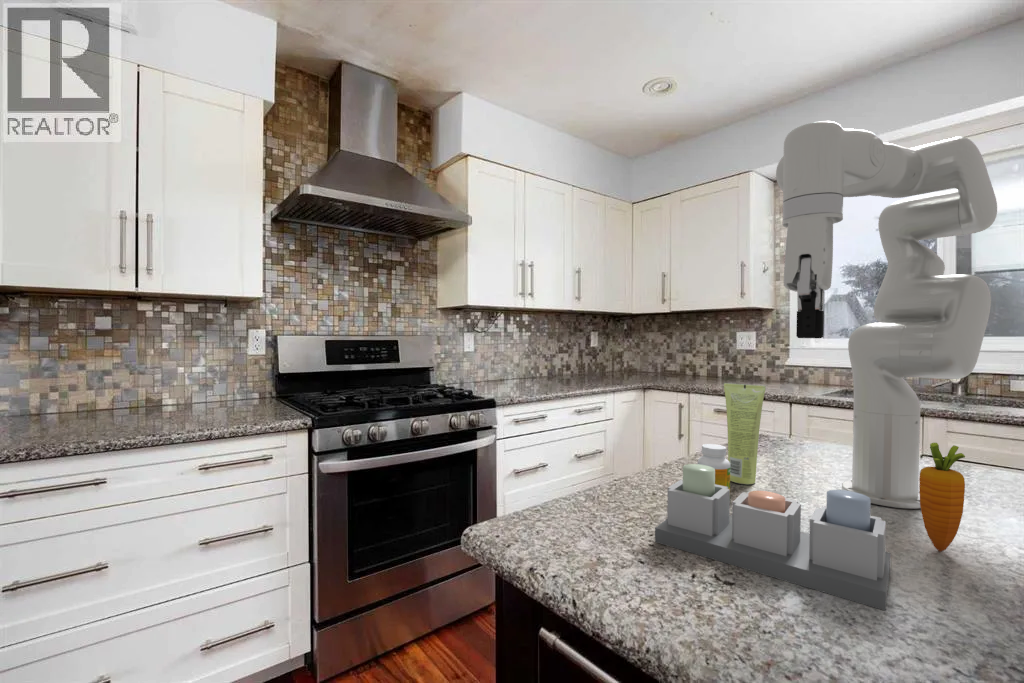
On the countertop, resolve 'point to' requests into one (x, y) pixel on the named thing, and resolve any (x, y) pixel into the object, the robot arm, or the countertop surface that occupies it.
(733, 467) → the tube
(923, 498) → the carrot
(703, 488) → the button sage
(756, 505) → the button terracotta
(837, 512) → the button slate
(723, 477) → the supplement bottle
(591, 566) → the countertop surface
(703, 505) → the three-cup grey tray
